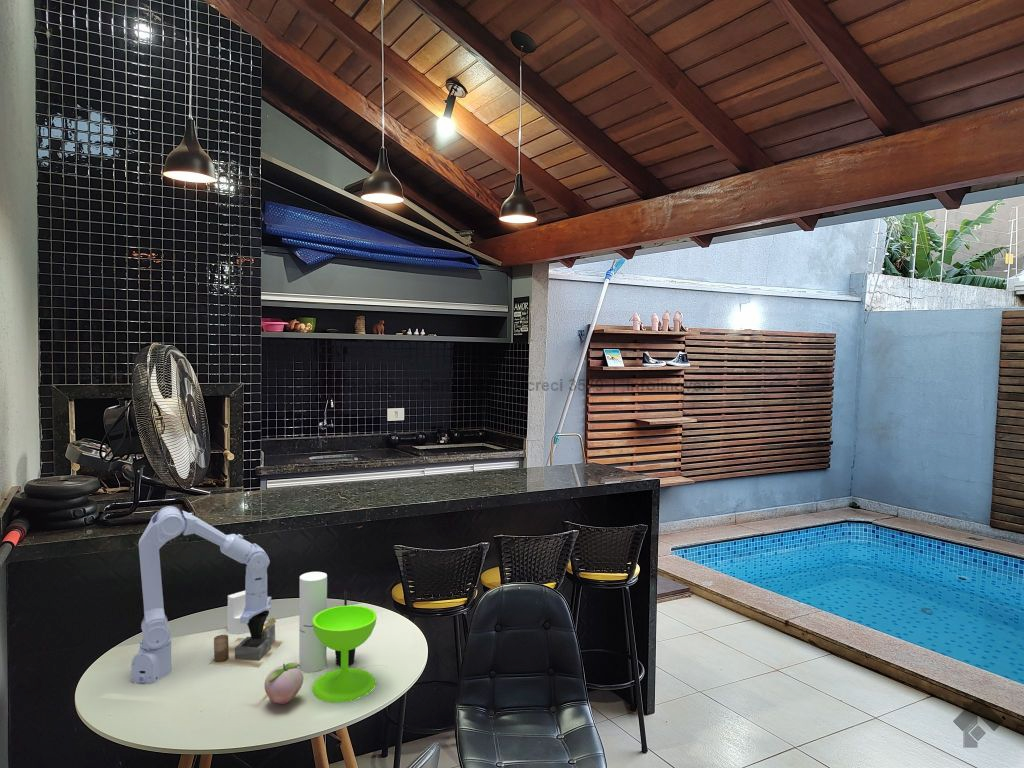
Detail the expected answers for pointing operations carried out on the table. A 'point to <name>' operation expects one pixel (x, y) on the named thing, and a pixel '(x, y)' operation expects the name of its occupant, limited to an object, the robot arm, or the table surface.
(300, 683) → the decorative fruit
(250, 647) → the dock
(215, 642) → the peg
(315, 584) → the cylindrical container
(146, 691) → the table surface
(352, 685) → the wineglass
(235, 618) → the base with upright slab
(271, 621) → the pin
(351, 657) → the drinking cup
